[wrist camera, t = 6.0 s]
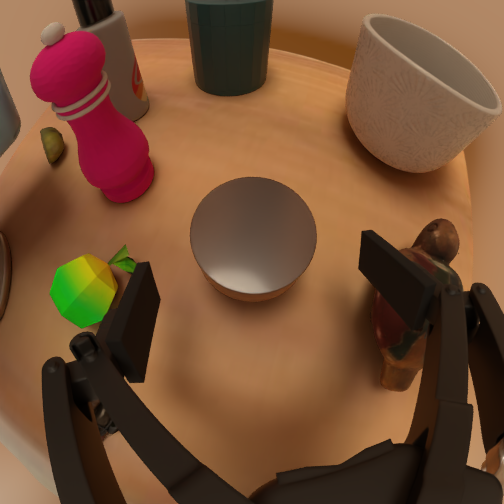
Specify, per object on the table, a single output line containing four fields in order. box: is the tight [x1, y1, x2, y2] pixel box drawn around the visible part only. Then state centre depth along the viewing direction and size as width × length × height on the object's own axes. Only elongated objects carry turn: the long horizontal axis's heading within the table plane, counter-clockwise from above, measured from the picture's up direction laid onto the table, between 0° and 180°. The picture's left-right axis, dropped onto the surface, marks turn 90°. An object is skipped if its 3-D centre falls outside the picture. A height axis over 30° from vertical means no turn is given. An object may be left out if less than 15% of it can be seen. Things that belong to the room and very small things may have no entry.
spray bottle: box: [72, 0, 149, 122], centre depth 22 cm, size 6×6×20 cm
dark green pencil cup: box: [185, 0, 273, 96], centre depth 27 cm, size 10×10×14 cm
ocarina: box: [370, 219, 464, 392], centre depth 20 cm, size 10×15×8 cm, turn 165°
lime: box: [40, 127, 64, 164], centre depth 26 cm, size 4×5×5 cm
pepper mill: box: [30, 22, 154, 203], centre depth 18 cm, size 7×7×20 cm
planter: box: [346, 14, 502, 173], centre depth 24 cm, size 17×17×15 cm
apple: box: [50, 244, 137, 329], centre depth 21 cm, size 7×6×9 cm
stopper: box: [190, 177, 317, 302], centre depth 21 cm, size 8×8×8 cm
